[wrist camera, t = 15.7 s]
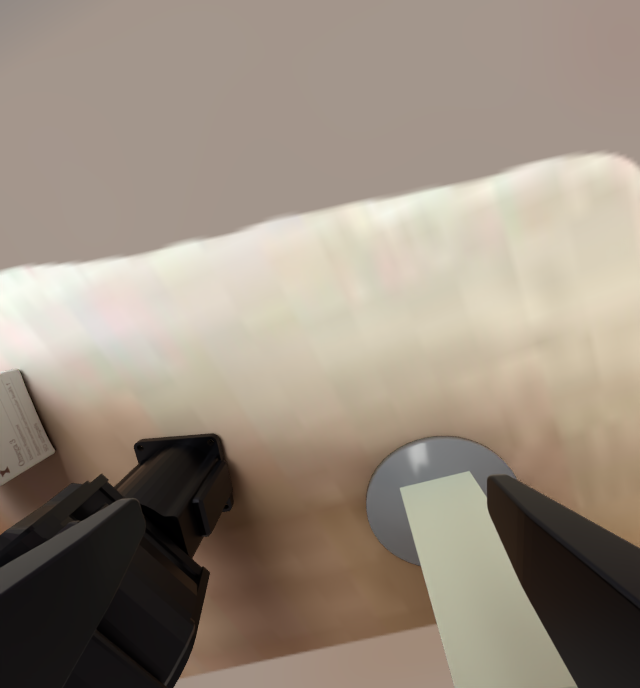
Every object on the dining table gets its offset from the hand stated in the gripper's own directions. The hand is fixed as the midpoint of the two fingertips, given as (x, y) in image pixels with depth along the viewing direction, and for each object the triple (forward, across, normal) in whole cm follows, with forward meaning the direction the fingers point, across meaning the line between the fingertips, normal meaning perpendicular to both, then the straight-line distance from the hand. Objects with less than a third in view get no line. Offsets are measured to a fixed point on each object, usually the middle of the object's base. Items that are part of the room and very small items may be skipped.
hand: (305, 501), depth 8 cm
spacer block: (+12, -7, +12) cm, 19 cm away
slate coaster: (+13, -7, +12) cm, 19 cm away
